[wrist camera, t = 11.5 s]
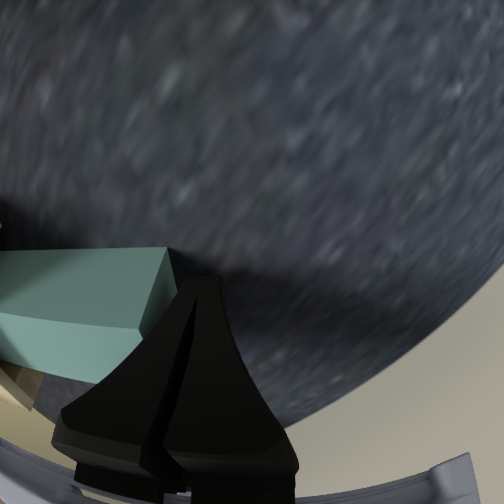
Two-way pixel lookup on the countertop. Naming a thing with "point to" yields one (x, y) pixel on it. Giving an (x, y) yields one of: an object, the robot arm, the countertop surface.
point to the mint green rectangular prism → (80, 307)
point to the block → (19, 384)
